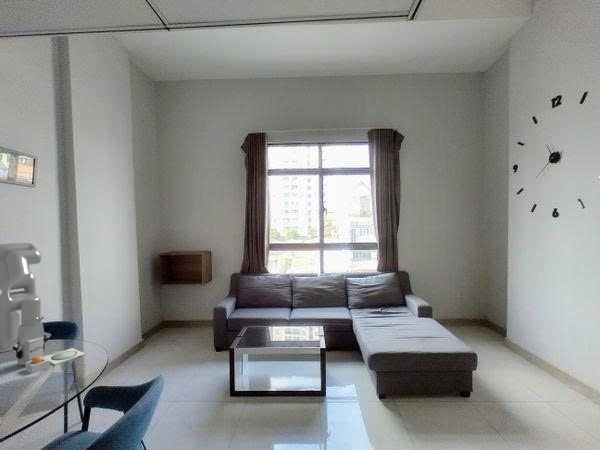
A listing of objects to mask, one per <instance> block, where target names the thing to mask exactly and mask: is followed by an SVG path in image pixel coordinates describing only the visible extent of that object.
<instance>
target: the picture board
mask: <svg viewBox="0 0 600 450" xmlns="http://www.w3.org/2000/svg"><path fill="white" fill-rule="evenodd" d="M78 356H81V357H84V356H86V353H85V352H83V351H81V350H80V351H79V350H77V349H76V348H73V347H72V348H69V349H65V350H62V351H59V352H56V353H52V354H49V355H46V356H43V358H45V359H47V360H49V364H52V365H54V366H58V365H62V364H64V363H66V362H69V361H70V362H71V361H72V360H76V359H78V358H77V357H78ZM81 357H80V358H81Z"/></svg>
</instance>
